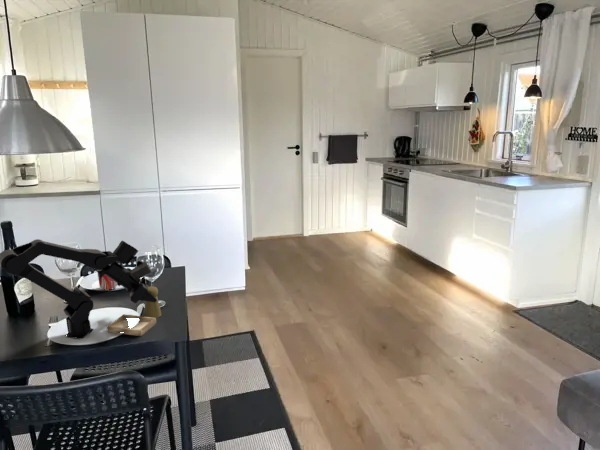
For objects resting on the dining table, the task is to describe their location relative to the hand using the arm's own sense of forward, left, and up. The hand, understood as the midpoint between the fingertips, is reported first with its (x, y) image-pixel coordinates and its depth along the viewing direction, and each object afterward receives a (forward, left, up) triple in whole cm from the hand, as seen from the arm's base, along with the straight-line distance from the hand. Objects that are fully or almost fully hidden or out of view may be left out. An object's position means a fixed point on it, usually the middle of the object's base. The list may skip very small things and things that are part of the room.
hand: (155, 298), depth 165 cm
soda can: (-33, +18, -7) cm, 38 cm away
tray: (-3, -11, -7) cm, 13 cm away
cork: (-1, -1, -7) cm, 7 cm away
